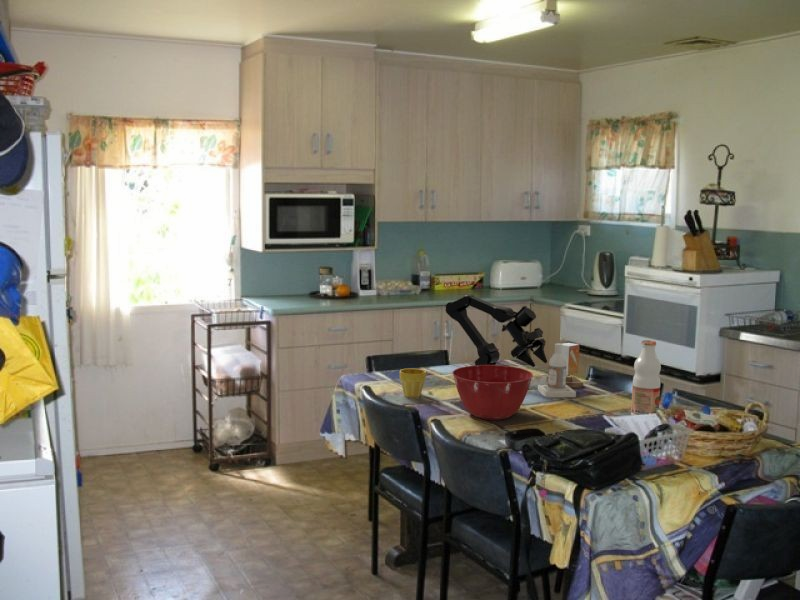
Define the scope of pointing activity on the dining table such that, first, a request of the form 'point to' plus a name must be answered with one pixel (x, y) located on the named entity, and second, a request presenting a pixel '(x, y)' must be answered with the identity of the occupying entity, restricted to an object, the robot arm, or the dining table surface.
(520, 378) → the mixing bowl
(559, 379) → the bath foam
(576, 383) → the walnut collar
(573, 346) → the small box
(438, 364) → the dining table surface
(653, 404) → the fruit juice
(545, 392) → the white square tray
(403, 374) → the plant pot
